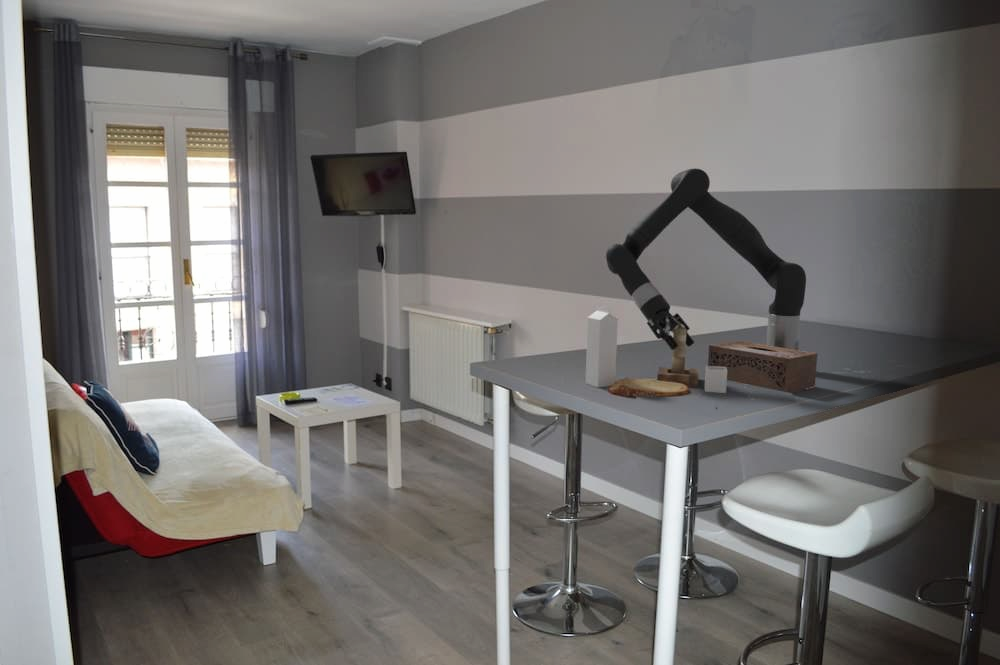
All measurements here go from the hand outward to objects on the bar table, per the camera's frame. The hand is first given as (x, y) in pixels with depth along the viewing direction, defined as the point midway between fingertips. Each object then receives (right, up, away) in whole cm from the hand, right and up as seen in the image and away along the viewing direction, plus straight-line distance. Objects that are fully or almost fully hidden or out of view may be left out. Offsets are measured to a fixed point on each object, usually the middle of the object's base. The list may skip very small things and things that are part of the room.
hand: (683, 346), depth 222 cm
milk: (-23, -11, 0) cm, 26 cm away
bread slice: (-11, -13, -9) cm, 20 cm away
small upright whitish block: (+7, -12, -7) cm, 16 cm away
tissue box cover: (+23, -11, +6) cm, 26 cm away
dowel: (-1, -10, +3) cm, 10 cm away
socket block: (-1, -11, +3) cm, 11 cm away
